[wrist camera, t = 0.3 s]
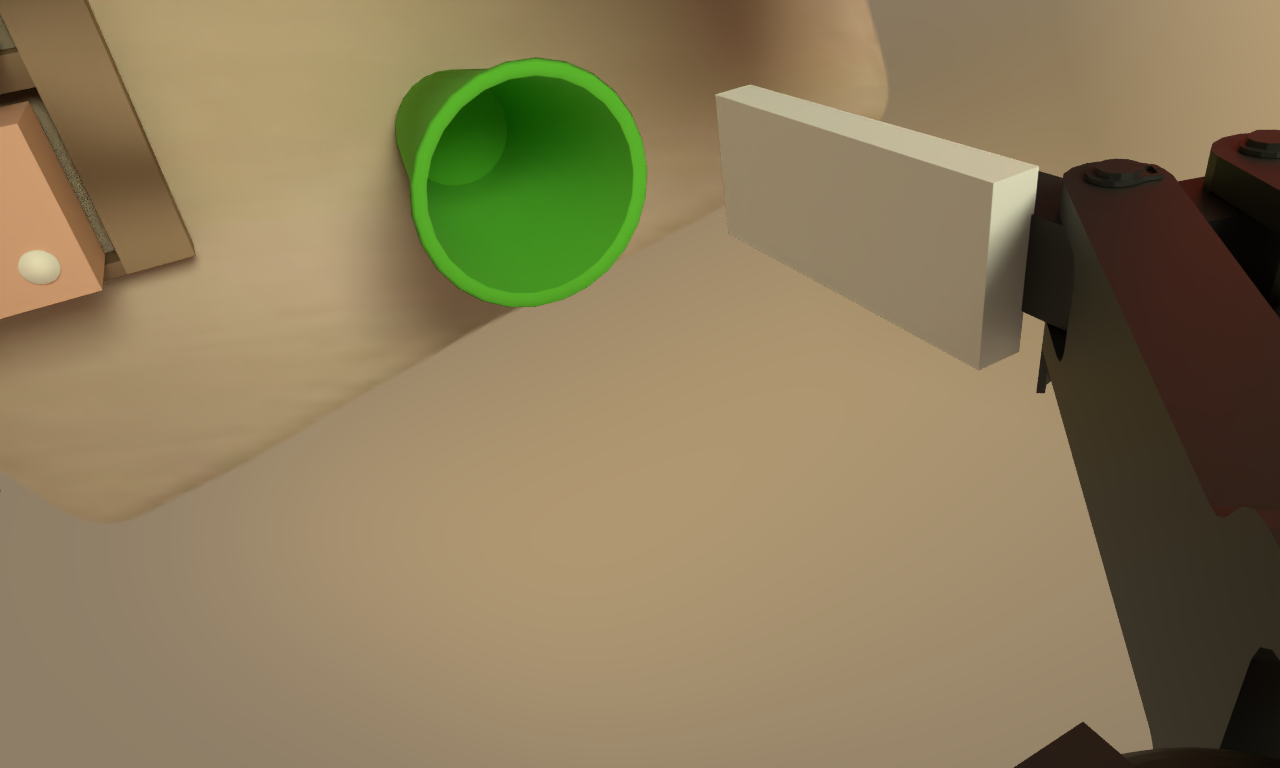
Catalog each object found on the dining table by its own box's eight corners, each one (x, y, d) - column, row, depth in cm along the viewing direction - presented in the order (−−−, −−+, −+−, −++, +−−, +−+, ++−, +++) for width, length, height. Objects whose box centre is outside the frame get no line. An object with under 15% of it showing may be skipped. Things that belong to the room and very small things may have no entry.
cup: (418, 259, 42) (491, 353, 33) (305, 87, 36) (358, 146, 28) (573, 163, 43) (681, 228, 35) (487, -17, 38) (591, 8, 29)
